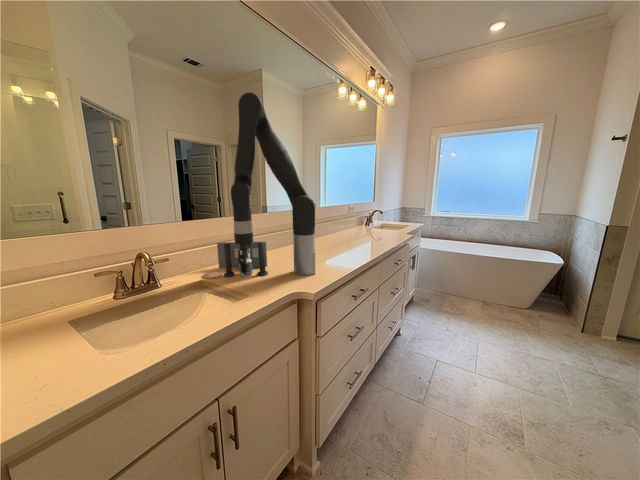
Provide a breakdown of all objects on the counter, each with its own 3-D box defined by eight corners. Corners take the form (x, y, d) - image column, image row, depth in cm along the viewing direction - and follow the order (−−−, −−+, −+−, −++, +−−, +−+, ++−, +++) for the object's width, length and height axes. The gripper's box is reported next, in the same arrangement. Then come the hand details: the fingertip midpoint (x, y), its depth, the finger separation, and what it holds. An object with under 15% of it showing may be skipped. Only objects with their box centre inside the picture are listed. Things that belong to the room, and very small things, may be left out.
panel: (267, 265, 122) (266, 241, 119) (266, 267, 119) (265, 242, 117) (219, 267, 120) (217, 242, 117) (218, 268, 118) (216, 243, 115)
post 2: (268, 272, 112) (267, 241, 109) (267, 275, 108) (265, 243, 105) (258, 272, 112) (256, 241, 109) (256, 276, 107) (255, 243, 105)
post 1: (235, 273, 111) (233, 242, 108) (233, 276, 107) (231, 244, 104) (225, 273, 110) (223, 242, 108) (222, 277, 106) (219, 244, 103)
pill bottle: (254, 273, 111) (253, 253, 109) (247, 277, 106) (246, 256, 104) (244, 272, 112) (243, 252, 111) (237, 276, 108) (235, 255, 106)
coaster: (224, 272, 112) (224, 271, 112) (219, 278, 104) (219, 277, 104) (206, 273, 112) (206, 272, 111) (199, 279, 104) (199, 278, 104)
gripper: (249, 234, 99) (251, 275, 102) (255, 228, 113) (257, 265, 116) (229, 234, 98) (232, 276, 101) (238, 229, 112) (240, 265, 115)
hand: (245, 270), depth 109 cm, fingers open, 6 cm apart
